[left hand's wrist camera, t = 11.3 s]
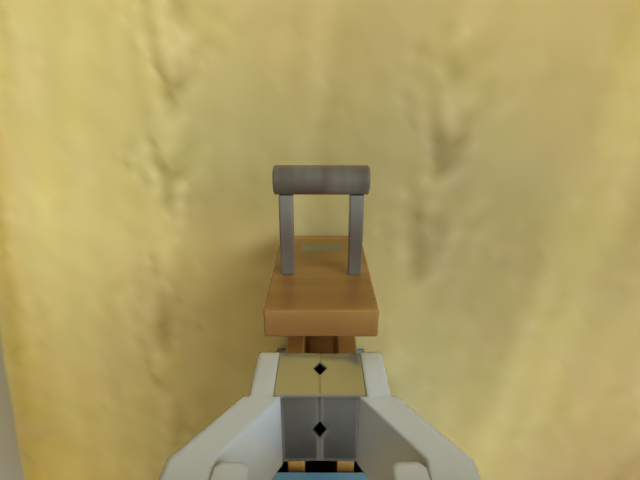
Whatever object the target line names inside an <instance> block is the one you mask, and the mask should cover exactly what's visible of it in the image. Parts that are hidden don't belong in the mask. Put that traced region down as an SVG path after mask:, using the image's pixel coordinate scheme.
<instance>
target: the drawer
mask: <svg viewBox="0 0 640 480" xmlns="http://www.w3.org/2000/svg"><path fill="white" fill-rule="evenodd" d="M369 190H370V168H369V166H332V165H275V166H274V167H273V191H274V194H279V222H280V246H279V250H278V254H277V259H276V263H275V267H274V271H273V275H272V279H271V283H270V287H269V291H268V296H267V300H266V304H265V308H264V328H265V336H287V343H286V351H285V353H320V354H345V353H357V349H356V342H355V336H377V334H378V317H379V310H378V306H377V302H376V298H375V294H374V290H373V286H372V282H371V278H370V274H369V270H368V266H367V262H366V258H365V254H364V250H363V246H362V237H363V211H364V195H363V194H368V193H369ZM293 194H349V232H348V236H294V213H293ZM288 472H352V473H354V462H351V461H288Z"/></svg>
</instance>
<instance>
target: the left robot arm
mask: <svg viewBox="0 0 640 480" xmlns="http://www.w3.org/2000/svg"><path fill="white" fill-rule="evenodd" d="M288 461H351V462H357V464H358V465H359V467H360V468H361V470H362V471H363V472H364V474H365V475H366V477H367V478H368V479H369V480H481V478H480V476H479V473H478V471H477V468H476V466H475V463H474V461H473V460H472V459H471V458H470V457H469V456H467V455H466V454H465V453H464V452H463V451H461V450H460V449H459V448H458V447H457V446H455V445H454V444H453V443H452V442H451V441H450V440H448V439H447V438H446V437H445V436H444V435H442V434H441V433H440V432H439V431H438V430H436V429H435V428H434V427H433V426H432V425H430V424H429V423H428V422H427V421H426V420H424V419H423V418H422V417H421V416H420V415H418V414H417V413H416V412H415V411H414V410H412V409H411V408H410V407H409V406H408V405H406V404H405V403H404V402H403V401H402V400H401V399H399V398H398V397H392V396H391V394H390V390H389V386H388V381H387V377H386V372H385V368H384V363H383V359H382V355H381V353H380V352H369V353H345V354H320V353H279V352H260V354H259V355H258V359H257V363H256V368H255V372H254V376H253V381H252V385H251V390H250V394H249V396H248V397H242V398H241V399H240V400H238V401H237V402H236V403H235V404H234V405H232V406H231V407H230V408H229V409H228V410H226V411H225V412H224V413H223V414H221V415H220V416H219V417H218V418H217V419H215V420H214V421H213V422H212V423H211V424H209V425H208V426H207V427H206V428H205V429H203V430H202V431H201V432H200V433H199V434H197V435H196V436H195V437H194V438H193V439H191V440H190V441H189V442H188V443H187V444H185V445H184V446H183V447H182V448H181V449H179V450H178V451H177V452H176V453H175V454H173V455H172V456H171V457H170V458H169V459H167V461H166V464H165V466H164V468H163V471H162V473H161V476H160V478H159V480H272V478H273V477H274V476H275V474H276V473H277V471H278V470H279V469H280V467H281V466H282V465H283V462H288Z"/></svg>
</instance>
